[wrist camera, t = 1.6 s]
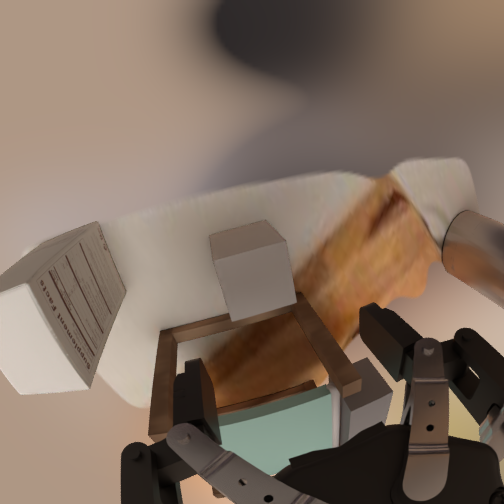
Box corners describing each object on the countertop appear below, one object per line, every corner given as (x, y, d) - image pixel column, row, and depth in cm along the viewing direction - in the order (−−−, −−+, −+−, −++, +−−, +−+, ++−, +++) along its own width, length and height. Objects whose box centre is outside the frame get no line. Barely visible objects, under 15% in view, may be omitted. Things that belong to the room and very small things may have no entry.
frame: (300, 292, 27) (361, 378, 16) (313, 386, 33) (351, 461, 21) (160, 331, 26) (148, 435, 14) (207, 416, 32) (217, 498, 20)
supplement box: (69, 309, 23) (18, 397, 12) (39, 242, 21) (-41, 307, 9) (129, 293, 24) (92, 393, 12) (100, 218, 21) (23, 281, 10)
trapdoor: (367, 346, 20) (395, 381, 16) (360, 418, 25) (377, 447, 21) (185, 402, 19) (187, 448, 15) (227, 461, 23) (233, 494, 19)
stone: (265, 219, 24) (285, 240, 19) (276, 270, 26) (296, 302, 21) (209, 235, 24) (212, 260, 18) (224, 285, 26) (231, 321, 20)
